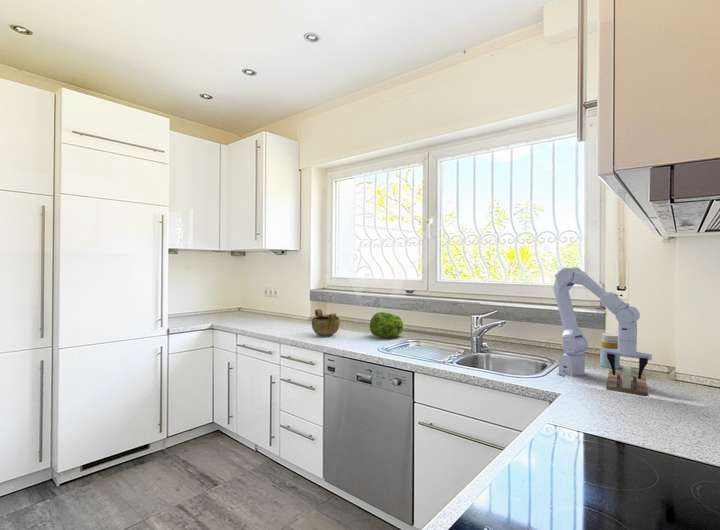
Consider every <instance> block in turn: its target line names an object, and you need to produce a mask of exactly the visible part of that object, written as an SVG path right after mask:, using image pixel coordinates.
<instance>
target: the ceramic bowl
mask: <svg viewBox="0 0 720 530" xmlns="http://www.w3.org/2000/svg"><path fill="white" fill-rule="evenodd" d="M314 315H315V316H314V317H312V318H311V328H312V330H313V332H314V333H315V334H316V335H317V336H319V337H322V338H323V337H324V338H325V337H331V336H333V335H335V334H336V333H337V332H338V330H339V329H340V323H341V322H340V317H339V316H337V314H336V313H330V314H329V315H324V314H323V311H322V309H318V308H316V309H315V310H314Z"/></svg>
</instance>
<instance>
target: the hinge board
mask: <svg viewBox="0 0 720 530" xmlns="http://www.w3.org/2000/svg"><path fill="white" fill-rule="evenodd" d="M622 372H623V370H622V371H621V370H615V375H613V372H612V369H609V370H608V376H607V380H606V385H605V387H606V388H605V389H606V391H612V392H618V393H625V394H628V395H629V394H630V395H635V396H639V397H641V396H642V397H646V396H649V395H648V388H647V380H646V379H647V378H646V375H645V374H643V373H642V375H641V379H638V373H634V372H631V389H629V388H623V387H622Z"/></svg>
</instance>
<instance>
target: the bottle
mask: <svg viewBox="0 0 720 530" xmlns="http://www.w3.org/2000/svg"><path fill="white" fill-rule="evenodd" d="M604 349H617V350H618V333H611V332H610V333H609V332H604V333H602V334H601V342H600V353H599V355H600V357H599V366H600V367H602V368H605V369H609V370H612V368H611V365H610V363H609V360H608V359H607V355H604ZM620 357H621V356H615V370H616V369H617V370H619V369H620V365H621V364H620V362H621V361H620V359H621V358H620Z"/></svg>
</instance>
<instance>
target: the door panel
mask: <svg viewBox="0 0 720 530" xmlns="http://www.w3.org/2000/svg"><path fill="white" fill-rule="evenodd" d="M631 373H632V365H628V364H622V387H623V388H629V389H631Z"/></svg>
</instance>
